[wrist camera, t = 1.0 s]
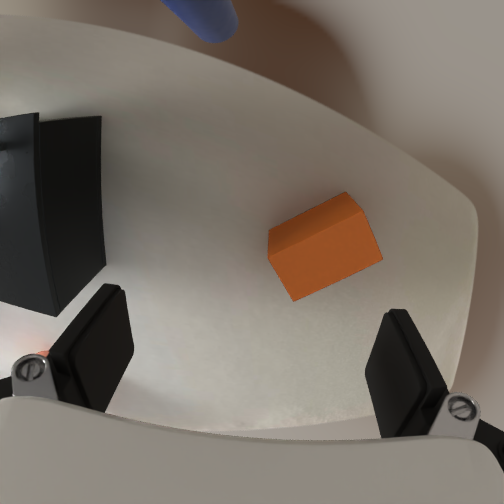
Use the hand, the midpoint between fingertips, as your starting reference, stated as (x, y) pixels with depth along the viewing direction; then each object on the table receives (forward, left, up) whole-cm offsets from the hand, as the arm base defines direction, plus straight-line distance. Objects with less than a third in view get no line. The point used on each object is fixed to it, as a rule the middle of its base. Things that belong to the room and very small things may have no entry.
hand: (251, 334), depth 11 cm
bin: (-12, -22, -23) cm, 34 cm away
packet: (+7, +2, -23) cm, 24 cm away
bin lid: (-13, -21, -12) cm, 28 cm away
